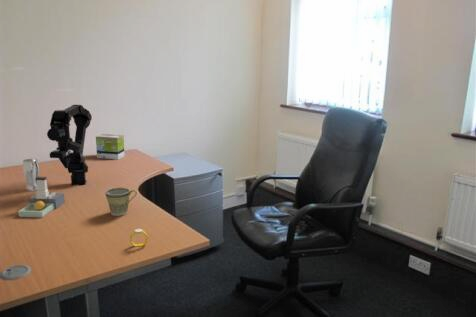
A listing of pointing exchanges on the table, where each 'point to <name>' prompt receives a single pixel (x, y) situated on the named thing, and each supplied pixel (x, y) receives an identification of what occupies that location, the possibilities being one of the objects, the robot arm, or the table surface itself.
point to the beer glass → (31, 173)
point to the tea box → (110, 146)
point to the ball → (39, 205)
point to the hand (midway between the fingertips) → (66, 168)
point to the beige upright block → (41, 188)
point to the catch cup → (35, 210)
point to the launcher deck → (50, 199)
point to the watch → (138, 233)
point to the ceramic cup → (118, 200)
